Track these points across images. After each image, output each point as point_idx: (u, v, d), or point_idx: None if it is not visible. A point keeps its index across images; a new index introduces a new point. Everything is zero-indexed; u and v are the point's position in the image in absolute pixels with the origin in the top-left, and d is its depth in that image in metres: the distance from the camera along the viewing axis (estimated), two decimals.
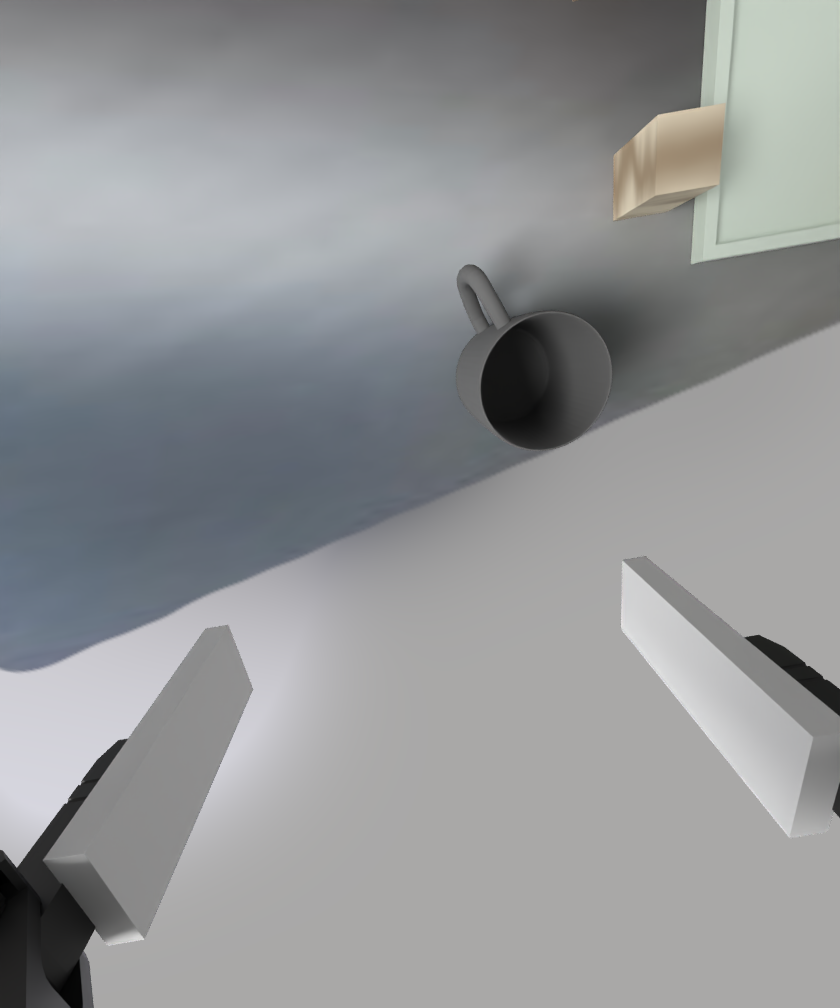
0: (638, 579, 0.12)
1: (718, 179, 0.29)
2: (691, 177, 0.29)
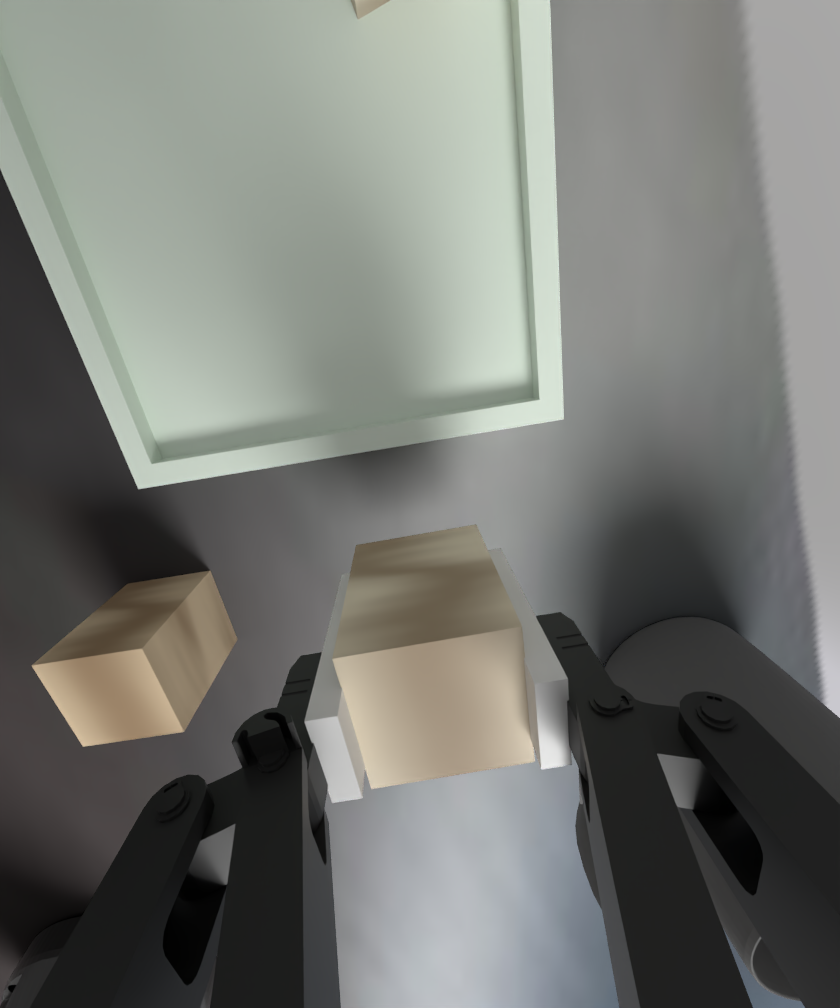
0: None
1: (510, 633, 0.10)
2: (501, 696, 0.10)
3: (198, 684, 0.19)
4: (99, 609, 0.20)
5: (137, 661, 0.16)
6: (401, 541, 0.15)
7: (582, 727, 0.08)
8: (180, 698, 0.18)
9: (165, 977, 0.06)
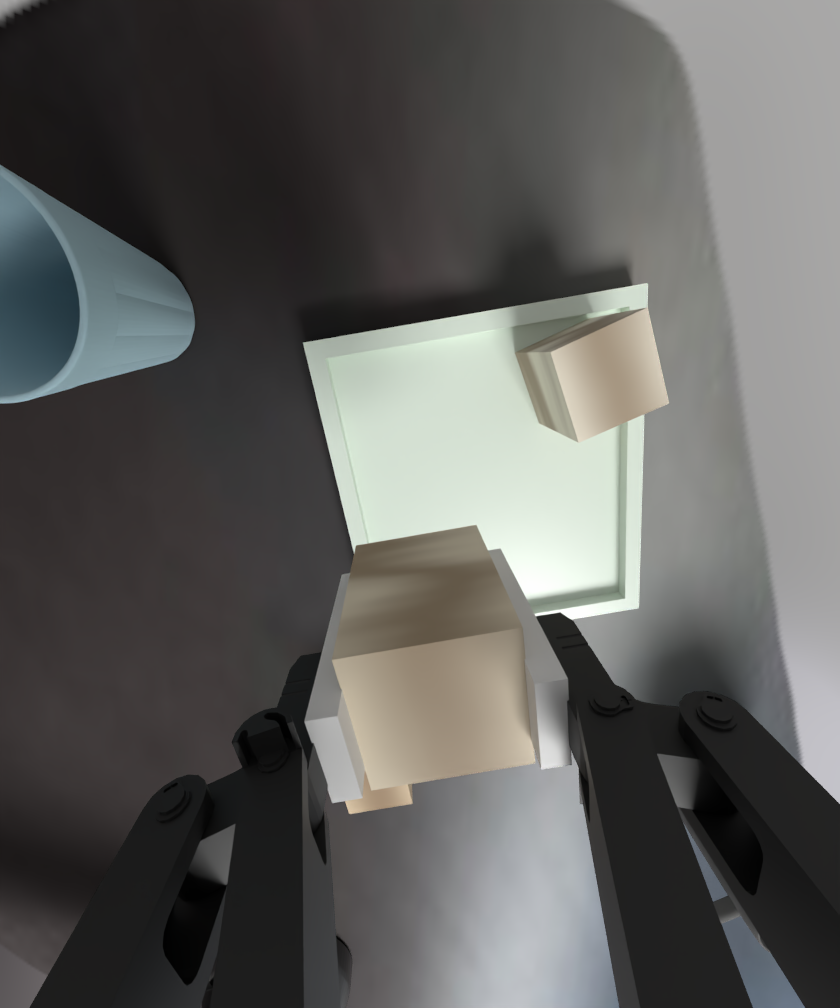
0: None
1: (510, 633, 0.10)
2: (501, 697, 0.10)
3: None
4: None
5: None
6: (401, 541, 0.15)
7: (582, 727, 0.08)
8: None
9: (165, 977, 0.06)
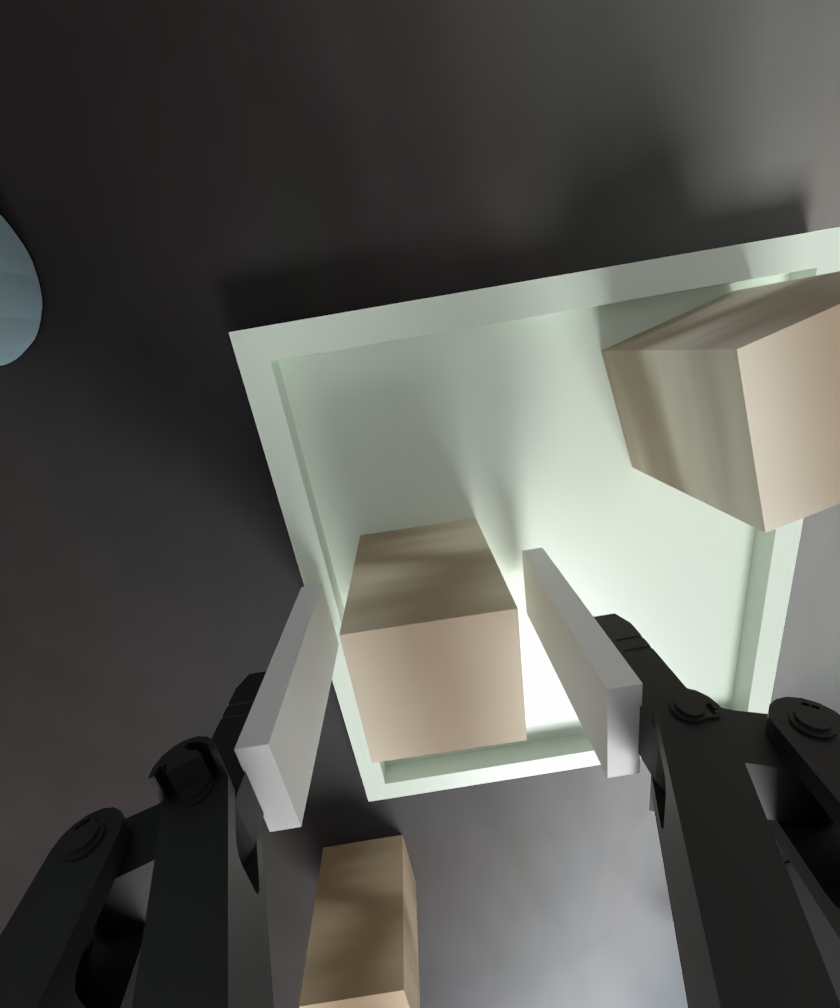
0: (529, 568, 0.14)
1: (506, 614, 0.10)
2: (496, 675, 0.11)
3: (416, 973, 0.20)
4: (318, 898, 0.21)
5: (395, 998, 0.18)
6: (404, 532, 0.16)
7: (661, 731, 0.08)
8: (416, 1007, 0.19)
9: None
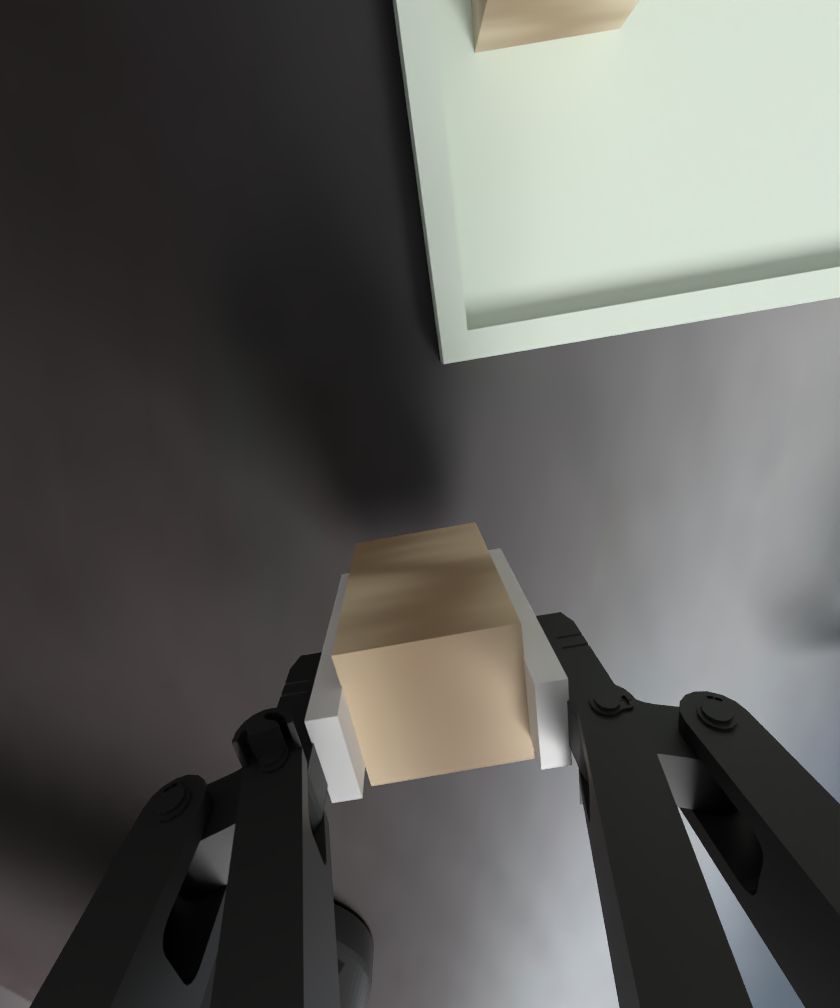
0: None
1: None
2: None
3: None
4: (353, 574, 0.13)
5: (504, 645, 0.10)
6: None
7: (582, 727, 0.08)
8: None
9: (165, 977, 0.06)
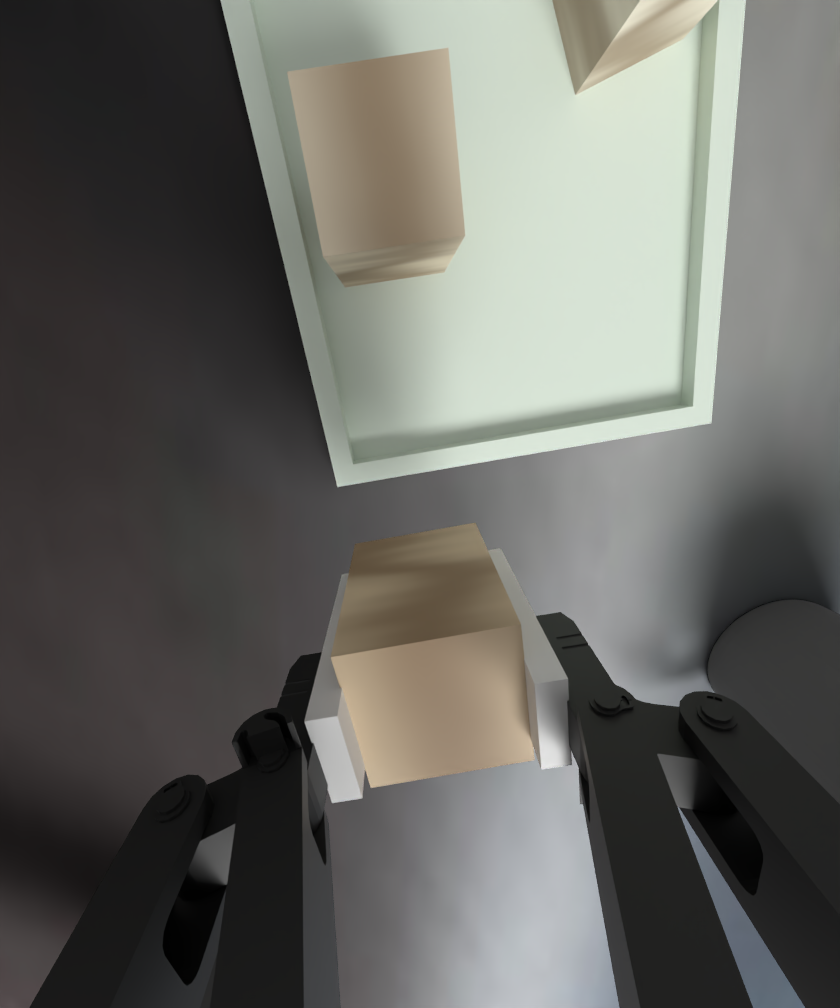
0: None
1: (438, 53, 0.11)
2: (433, 140, 0.12)
3: None
4: (352, 575, 0.13)
5: (504, 646, 0.10)
6: None
7: (582, 727, 0.08)
8: None
9: (165, 977, 0.06)
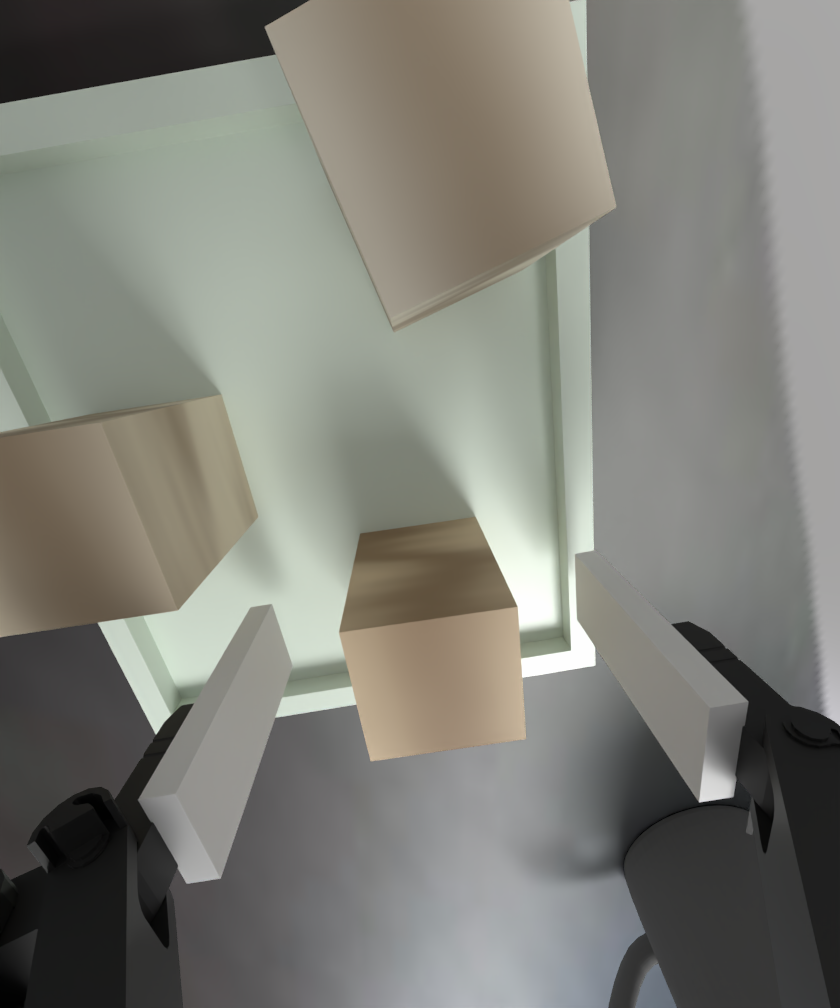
0: (586, 572, 0.13)
1: (87, 430, 0.08)
2: (107, 518, 0.09)
3: None
4: (358, 561, 0.14)
5: (501, 627, 0.10)
6: (133, 408, 0.14)
7: (772, 749, 0.07)
8: None
9: None
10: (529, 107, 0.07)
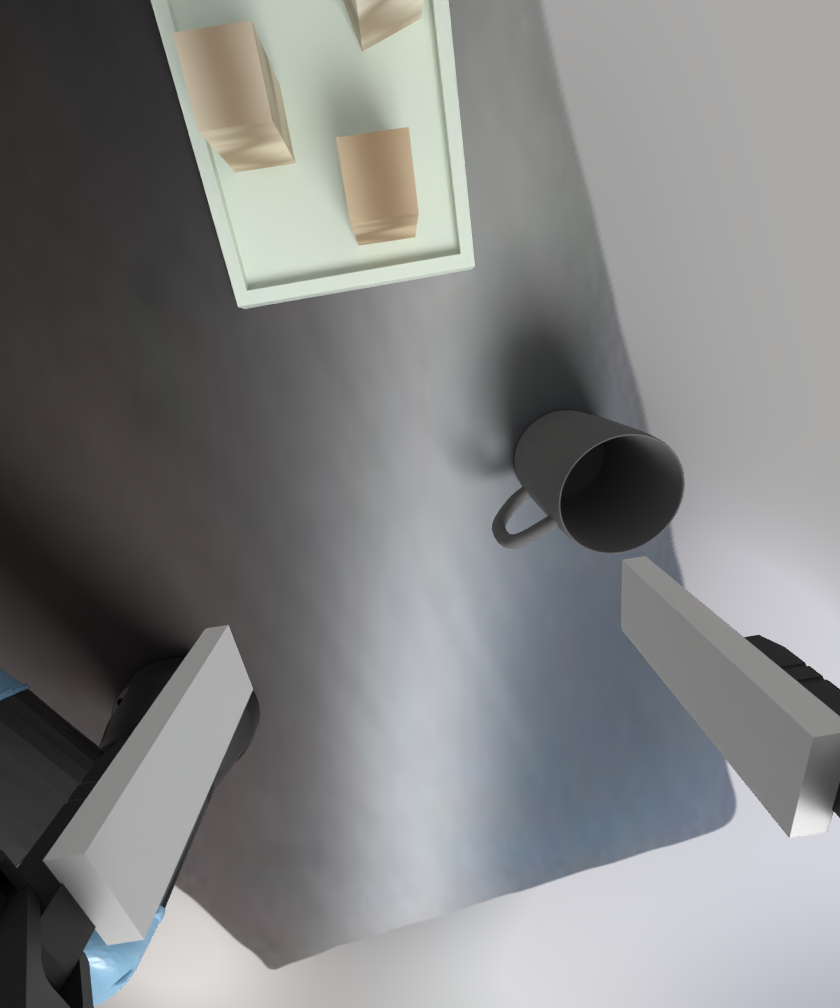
0: (638, 579, 0.12)
1: (246, 23, 0.23)
2: (249, 68, 0.24)
3: None
4: None
5: (402, 139, 0.25)
6: None
7: None
8: None
9: None
10: None
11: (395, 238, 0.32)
